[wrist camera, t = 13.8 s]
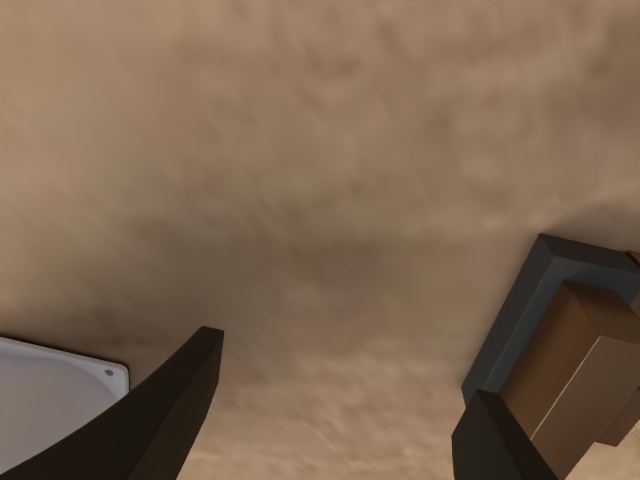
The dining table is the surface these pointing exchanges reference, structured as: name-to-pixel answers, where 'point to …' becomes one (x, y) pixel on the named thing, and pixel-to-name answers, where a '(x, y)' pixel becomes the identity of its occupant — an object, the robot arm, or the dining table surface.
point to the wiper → (564, 347)
